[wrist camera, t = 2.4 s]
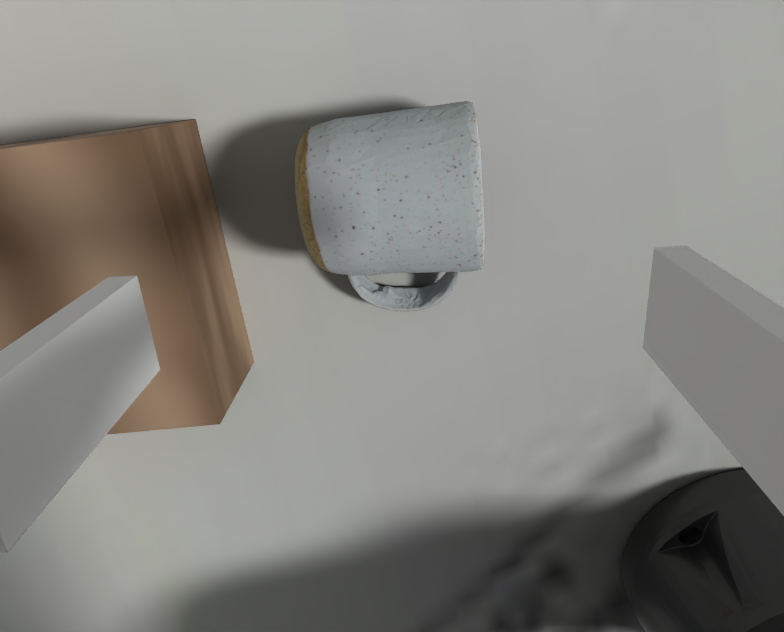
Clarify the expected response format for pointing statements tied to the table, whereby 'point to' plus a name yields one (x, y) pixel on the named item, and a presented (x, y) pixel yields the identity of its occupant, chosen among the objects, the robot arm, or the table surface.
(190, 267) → the walnut block
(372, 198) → the ceramic mug
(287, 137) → the table surface
